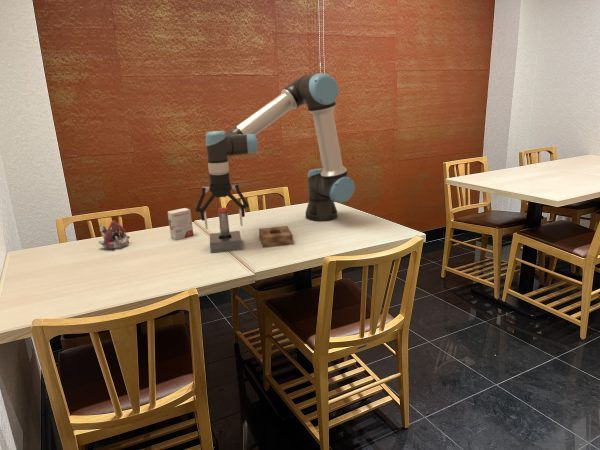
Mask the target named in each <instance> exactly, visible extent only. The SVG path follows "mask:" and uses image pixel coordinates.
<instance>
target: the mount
mask: <svg viewBox="0 0 600 450" xmlns="http://www.w3.org/2000/svg"><path fill="white" fill-rule="evenodd" d="M258 233H259V236H258V238H259V241H260V243H261V247H262V248H272V247H281V246H290V244H292V245H294V239H293V233H292V232H291V230H290V228H289V226H288V225H284V226H283V225H282V226H273V227H263V228H258Z"/></svg>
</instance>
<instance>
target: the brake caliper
mask: <svg viewBox="0 0 600 450" xmlns="http://www.w3.org/2000/svg"><path fill="white" fill-rule="evenodd" d="M117 230H118V231H117ZM119 231H120V232H119ZM99 232H101V233H102V237H103V240H100V241H98V244H100V246H103V247H104V248H105V249H106V250H121V249H123V248H125V247H128V245H130V244H129V243H130V241H129V239H130V236H129V235H128V234H127V231H126V229H125V228H124V227H123V226H122V225H121V224H119V223H118V222H117V221H116V220H112V221H110V224H109V226H108V228H106V226H105V225H101V226H100V228H99Z"/></svg>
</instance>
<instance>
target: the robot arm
mask: <svg viewBox="0 0 600 450" xmlns="http://www.w3.org/2000/svg"><path fill="white" fill-rule="evenodd" d="M338 96H339V84H338V82H337V81H336V79H335V78H334V77H333V76H331V75H330V74H328V73H321V72H319V73H312V74H304V75H302V76H299V78H296V79H295V80H294V81H292V82H291V83H290V84H288V85H287V86H286V87H284V88H283V89H281V93H280V94H279V95H278V96H276V97H275V98H273V99H272V100H271V101H269V102H267V103H266V104H265V105H264V106H262V107H261V108H259V109H258V110H256V111H255V112H254V113H252V114H251V115H250V116H248V117H247V118H246V119H244V120H243V121H241V122H240V123H238V124H237V125H236V126H234V127H233V128H231V129H230V130H229V131H228V130H227V131H225V130H213V131H208V132H206V133H205V149H206V155H207V165H208V166H207V167H208V173H209V175H208V176H209V177H208V178H209V186H205V185H203V186H202V187H201V190H202V191H201V194H200V196H199V199H198V201H197V204H196V207H195V212H196V213H197V212H198V213H200V218H201V221H202V222H203V221H204V226H205V230H208V229H209V228H208V218H207V211H206V210H207V208H208V207H209V206H210V205H211V203H212V202H213V200H214V199H215V198H217V199H220V198H226V197H228V198H229V199H231V201H233V202H234V203H235V204H236V205H237V207H238V212H239V223H240V225H239V226H241V227H243V225H244V223H243V218H245V217H246V214H245V213H246V212H245V209H246V208H249V206H250V205H249V203H248V201H247V199H246V198H245V197H244V195H243V193H242V191H241V190H240V187H239V183H235V184H231V178H230V169H229V168H230V167H229V159H228V157H232V156H240V155H250V154H251V155H252V154H256V153H257V152H258V148H259V142H258V138H257V136H256V135H258V134H259V133H261V132H262V131H263V130H265V129H266V128H267V127H269V126H271V124H273V123H275V122H276V121H277V120H278V119H280V118H281V117H283V116H284V115H285V114H287V113H289V112H290V111H291V110H296V109H298V108H299V107H301V106H304V105H306V106H307V111H308V113H310V114H311V115H312V118H313V123H314V128H315V129H314V130H315V134H316V140H317V143H318V144H317V145H318V148H319V149H318V151H319V154H320V160H321V165H322V167H321V168H320V167H319V168H313V169H312V168H311V169H310V170H308V172H307V186H308V187H307V190H308V193H307V194H308V203H307V206H306V209H305V219H307V220H310V221H313V222H314V221H315V222H324V221H325V222H326V221H332V220H334V219H337V218H338V209H337V206H336V205H335V203H340V204H341V203H346V202H348V201H349V200H350V199H351V198H352V196H353V195H354V193H355V189H356V187H355V181H354V180H353V179H352V178H351V177H349V173H348V169H347V168H346V167H345V166H344V165H343V160H342V154H341V147H340V142H339V136H338V131H337V127H336V126H337V125H336V120H335V115H334V110H335V108H336V107H337V104H336V100H337V98H338ZM232 189H233V190H234V191H236V194H238V196H239V198H240V200H241V201H240V200H239V199H237V198H236V197H235V196H234V195H233V194H232V192H231V191H232ZM208 191H209V192H210V193H211V194H210V196H209V198H207V201H205V203H203V201H204V199H205V197H206V194H207V193H208ZM242 202H243V204H242ZM202 203H203V206H202ZM201 206H202V207H201Z"/></svg>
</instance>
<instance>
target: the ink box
mask: <svg viewBox="0 0 600 450" xmlns="http://www.w3.org/2000/svg"><path fill="white" fill-rule="evenodd" d="M167 218H168V224H169V225H168V227H169V233H170V238H171V239H173V240H175V241H177V240H181V239H184V238H188V237H192V236H194V228H193V219H192V212H191V209H189V208H187V207H184V208H183V207H182V208H178V209H174V210H169V211H167Z"/></svg>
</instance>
